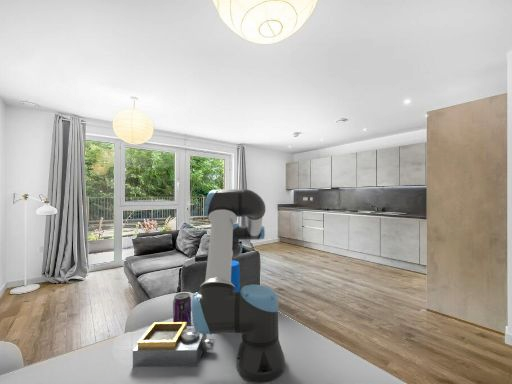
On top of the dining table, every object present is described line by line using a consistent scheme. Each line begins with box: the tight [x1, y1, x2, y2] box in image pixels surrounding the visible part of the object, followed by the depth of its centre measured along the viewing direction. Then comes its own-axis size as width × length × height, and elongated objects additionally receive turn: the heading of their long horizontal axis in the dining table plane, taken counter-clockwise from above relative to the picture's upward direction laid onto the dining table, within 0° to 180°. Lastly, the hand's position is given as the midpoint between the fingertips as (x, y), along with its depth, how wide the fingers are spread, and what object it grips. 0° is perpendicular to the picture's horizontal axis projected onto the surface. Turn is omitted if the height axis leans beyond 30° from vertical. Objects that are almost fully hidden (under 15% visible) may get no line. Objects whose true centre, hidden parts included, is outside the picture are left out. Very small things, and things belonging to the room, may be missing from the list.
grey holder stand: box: [132, 321, 216, 368], centre depth 82 cm, size 24×14×7 cm, turn 89°
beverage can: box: [172, 292, 192, 326], centre depth 100 cm, size 7×7×12 cm
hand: (196, 265), depth 109 cm, fingers open, 13 cm apart
